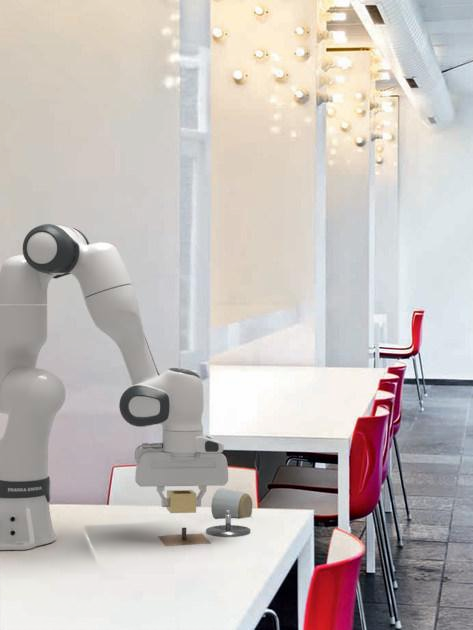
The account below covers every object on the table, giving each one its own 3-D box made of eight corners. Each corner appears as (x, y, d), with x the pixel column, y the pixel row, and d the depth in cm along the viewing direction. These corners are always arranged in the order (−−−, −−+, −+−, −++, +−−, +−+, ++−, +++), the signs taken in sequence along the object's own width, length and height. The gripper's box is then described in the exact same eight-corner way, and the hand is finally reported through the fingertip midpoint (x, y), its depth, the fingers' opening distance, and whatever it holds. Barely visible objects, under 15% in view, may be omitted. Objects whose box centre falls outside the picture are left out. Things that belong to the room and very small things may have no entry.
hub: (211, 544, 244) (210, 516, 244) (202, 535, 253) (201, 507, 253) (255, 542, 246) (255, 513, 246) (244, 532, 256) (244, 505, 256)
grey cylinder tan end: (240, 525, 264) (240, 493, 264) (210, 522, 268) (210, 490, 268) (259, 517, 274) (260, 486, 273) (230, 515, 277) (230, 484, 277)
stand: (165, 552, 236) (165, 534, 236) (157, 542, 246) (157, 524, 246) (211, 550, 239) (211, 531, 238) (202, 540, 248) (202, 522, 248)
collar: (170, 513, 238) (170, 494, 238) (166, 508, 244) (166, 490, 244) (196, 512, 239) (196, 494, 239) (191, 508, 245) (192, 490, 245)
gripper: (136, 444, 236) (135, 509, 236) (230, 444, 241) (229, 508, 241) (133, 441, 242) (132, 504, 243) (224, 441, 247) (223, 503, 247)
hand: (181, 506), depth 242 cm, fingers closed on collar, 6 cm apart
